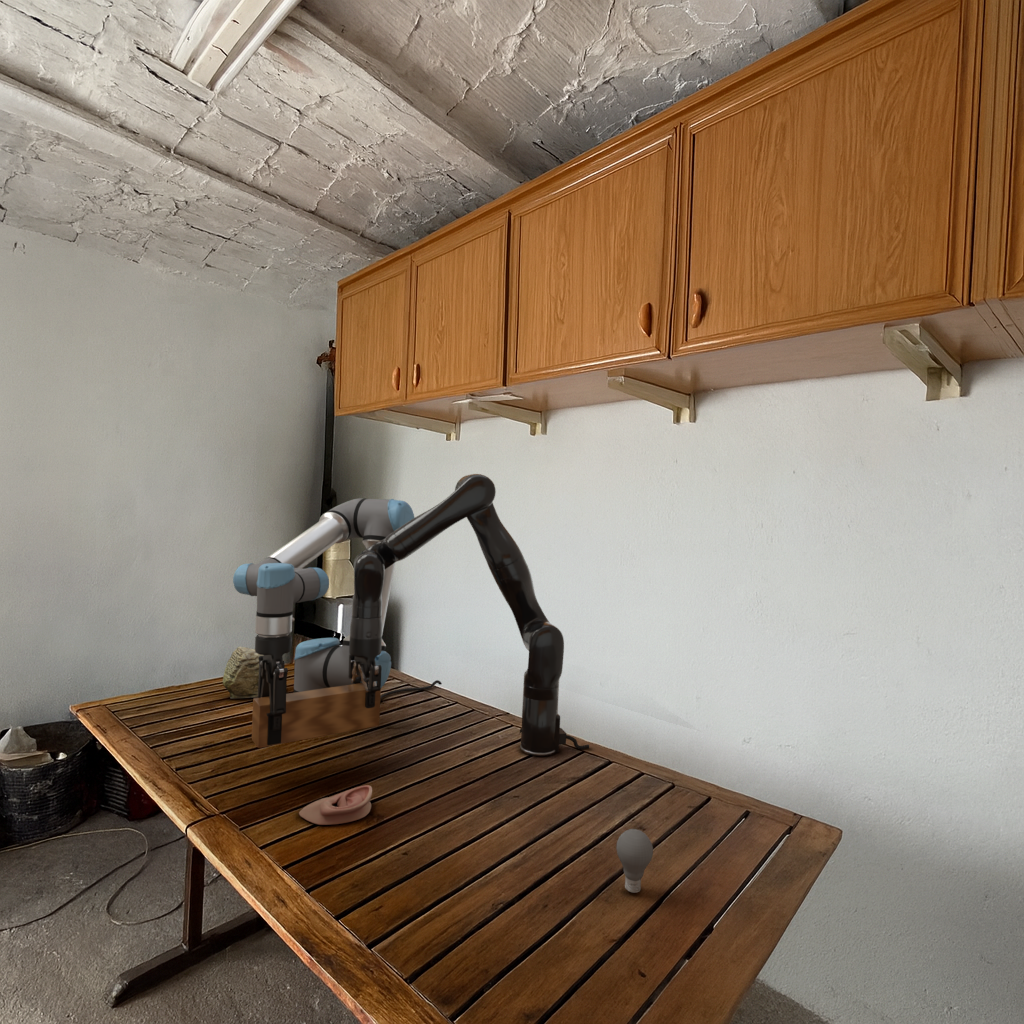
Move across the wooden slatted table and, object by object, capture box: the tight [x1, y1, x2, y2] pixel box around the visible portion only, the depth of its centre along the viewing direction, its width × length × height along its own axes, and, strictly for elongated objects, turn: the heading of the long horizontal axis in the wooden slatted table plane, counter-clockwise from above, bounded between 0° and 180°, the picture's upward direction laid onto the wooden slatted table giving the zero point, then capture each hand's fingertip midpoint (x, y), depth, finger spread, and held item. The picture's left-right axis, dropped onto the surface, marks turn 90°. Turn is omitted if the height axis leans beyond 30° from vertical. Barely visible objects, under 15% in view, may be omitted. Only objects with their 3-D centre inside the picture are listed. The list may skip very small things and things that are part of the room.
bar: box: [251, 683, 382, 749], centre depth 146 cm, size 28×6×9 cm, turn 126°
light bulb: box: [615, 828, 654, 894], centre depth 106 cm, size 6×6×10 cm
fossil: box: [222, 646, 288, 699], centre depth 198 cm, size 9×18×15 cm, turn 132°
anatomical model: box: [298, 784, 373, 826], centre depth 127 cm, size 13×4×12 cm
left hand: (270, 738), depth 139 cm, fingers closed on bar, 6 cm apart
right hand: (363, 702), depth 152 cm, fingers open, 7 cm apart
